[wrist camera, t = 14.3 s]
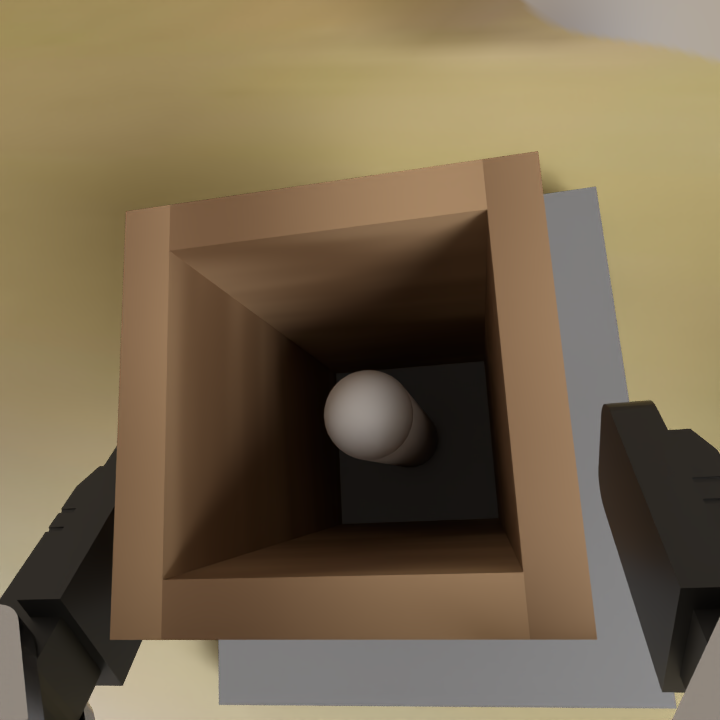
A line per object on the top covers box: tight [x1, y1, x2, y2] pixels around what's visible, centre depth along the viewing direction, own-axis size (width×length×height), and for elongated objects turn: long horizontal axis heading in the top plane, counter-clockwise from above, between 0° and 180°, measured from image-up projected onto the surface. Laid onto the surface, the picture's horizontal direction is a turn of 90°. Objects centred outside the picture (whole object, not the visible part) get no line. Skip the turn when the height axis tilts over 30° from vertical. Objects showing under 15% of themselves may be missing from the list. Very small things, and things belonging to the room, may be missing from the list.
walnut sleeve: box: [110, 151, 597, 640], centre depth 12 cm, size 6×6×10 cm
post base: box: [218, 187, 676, 708], centre depth 14 cm, size 12×14×9 cm
